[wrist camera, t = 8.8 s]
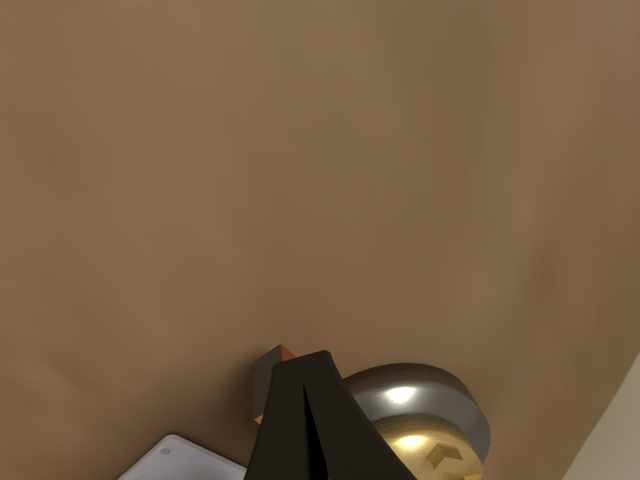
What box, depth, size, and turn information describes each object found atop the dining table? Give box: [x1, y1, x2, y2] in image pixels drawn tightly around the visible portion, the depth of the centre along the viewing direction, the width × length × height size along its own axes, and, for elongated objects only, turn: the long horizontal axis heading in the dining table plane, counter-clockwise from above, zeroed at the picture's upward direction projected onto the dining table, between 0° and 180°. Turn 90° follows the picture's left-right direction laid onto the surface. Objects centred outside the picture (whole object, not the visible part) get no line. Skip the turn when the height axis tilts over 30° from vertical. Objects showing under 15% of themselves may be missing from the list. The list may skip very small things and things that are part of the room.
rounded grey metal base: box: [343, 363, 491, 465], centre depth 25 cm, size 12×12×2 cm
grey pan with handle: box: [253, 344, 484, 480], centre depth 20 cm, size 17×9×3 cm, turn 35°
